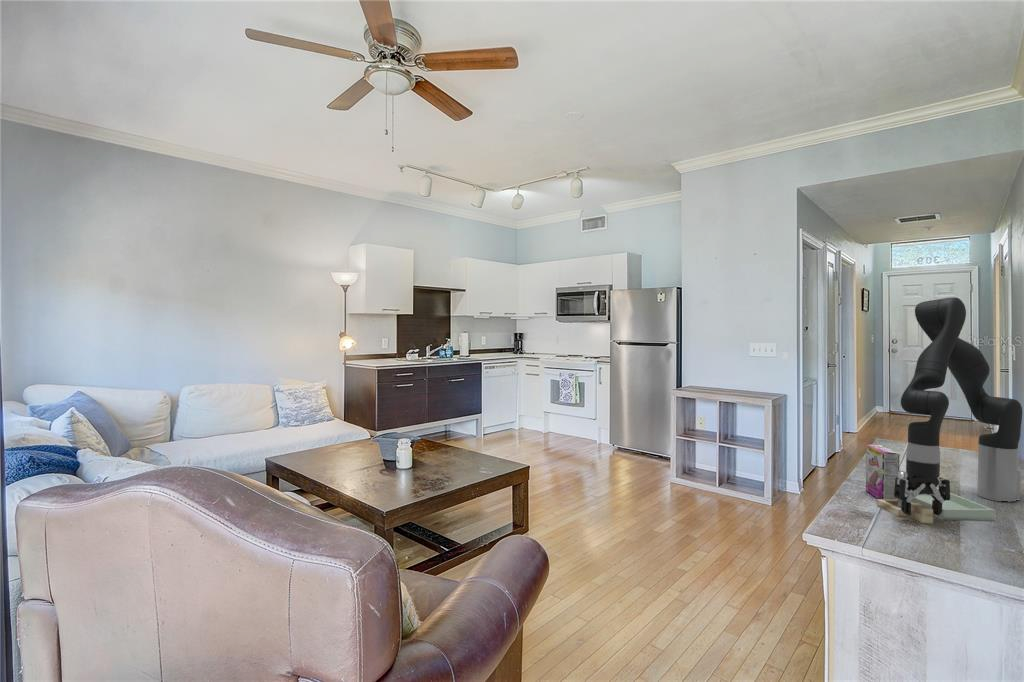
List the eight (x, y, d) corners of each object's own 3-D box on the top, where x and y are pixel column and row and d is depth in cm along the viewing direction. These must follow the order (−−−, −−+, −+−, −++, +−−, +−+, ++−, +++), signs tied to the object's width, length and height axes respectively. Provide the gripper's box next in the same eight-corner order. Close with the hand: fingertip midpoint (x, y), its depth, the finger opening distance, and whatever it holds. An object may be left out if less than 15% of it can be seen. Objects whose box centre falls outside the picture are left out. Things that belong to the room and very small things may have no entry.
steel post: (902, 509, 152) (903, 470, 151) (908, 512, 149) (909, 473, 149) (894, 509, 152) (895, 470, 151) (900, 512, 149) (901, 473, 149)
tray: (936, 496, 163) (937, 487, 163) (995, 520, 143) (995, 510, 143) (891, 496, 163) (891, 487, 163) (942, 519, 143) (943, 509, 143)
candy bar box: (864, 491, 168) (865, 444, 168) (880, 492, 167) (881, 444, 167) (881, 503, 157) (883, 452, 157) (899, 504, 156) (900, 453, 156)
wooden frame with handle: (876, 505, 155) (876, 492, 155) (905, 505, 155) (905, 493, 155) (911, 523, 141) (911, 509, 141) (943, 523, 141) (943, 509, 141)
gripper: (936, 455, 146) (935, 509, 147) (888, 455, 146) (887, 509, 147) (959, 462, 139) (957, 519, 139) (908, 462, 139) (906, 518, 139)
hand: (921, 514), depth 143 cm, fingers open, 8 cm apart
